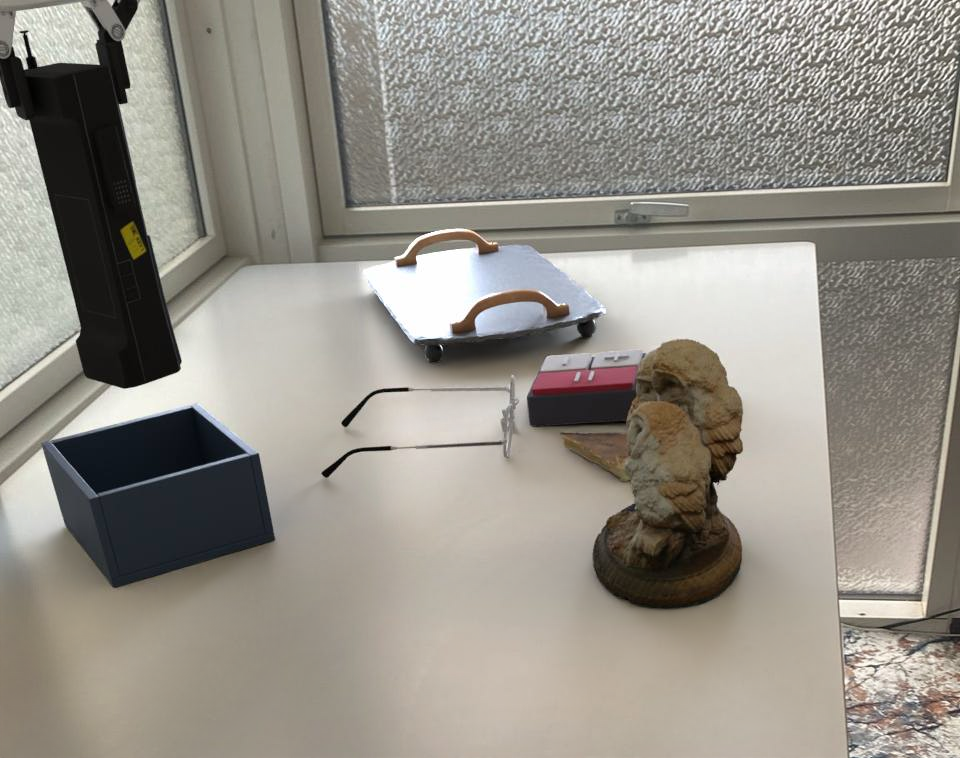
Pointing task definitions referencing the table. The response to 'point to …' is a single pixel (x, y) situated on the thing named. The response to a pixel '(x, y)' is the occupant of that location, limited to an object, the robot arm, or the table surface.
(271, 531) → the bin
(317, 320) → the table surface
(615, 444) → the shard
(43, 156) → the portable radio
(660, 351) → the owl figurine
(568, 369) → the red gray box
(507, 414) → the eyeglasses
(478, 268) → the serving tray
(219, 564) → the table surface
